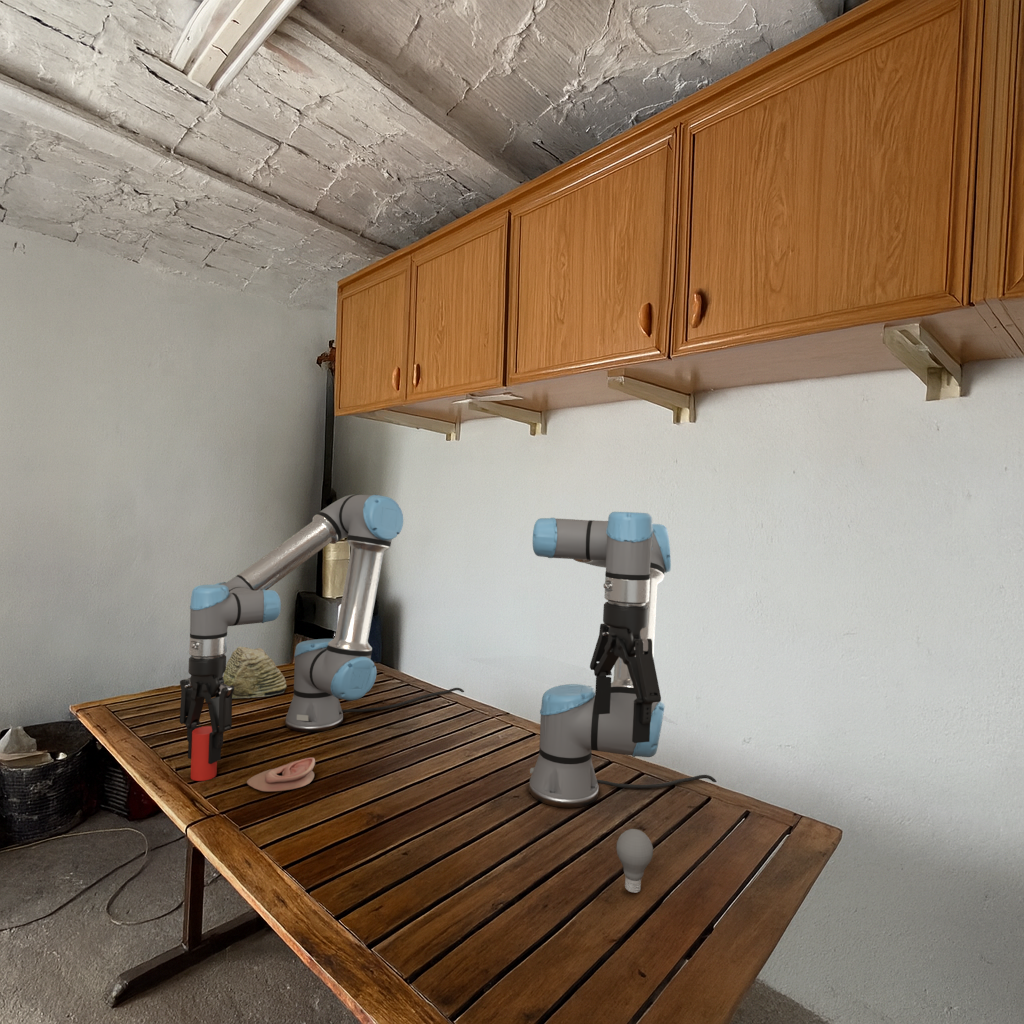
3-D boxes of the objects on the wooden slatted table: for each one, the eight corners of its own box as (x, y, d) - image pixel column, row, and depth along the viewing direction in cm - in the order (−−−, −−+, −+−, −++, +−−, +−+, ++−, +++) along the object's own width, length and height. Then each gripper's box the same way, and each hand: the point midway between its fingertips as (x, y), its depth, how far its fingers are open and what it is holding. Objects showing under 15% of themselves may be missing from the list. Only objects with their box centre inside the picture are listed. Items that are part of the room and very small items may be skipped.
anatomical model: (238, 769, 136) (269, 749, 147) (238, 787, 136) (269, 766, 147) (295, 777, 133) (322, 756, 144) (294, 796, 133) (321, 773, 144)
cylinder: (195, 783, 137) (197, 736, 137) (187, 775, 141) (188, 729, 141) (220, 776, 141) (221, 730, 141) (211, 768, 145) (213, 724, 145)
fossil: (218, 695, 195) (220, 647, 195) (278, 685, 208) (279, 640, 207) (228, 703, 189) (230, 653, 188) (289, 692, 201) (290, 645, 201)
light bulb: (610, 879, 108) (613, 822, 108) (644, 879, 109) (647, 822, 109) (619, 902, 102) (622, 840, 102) (655, 901, 103) (658, 840, 103)
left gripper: (162, 653, 140) (159, 757, 141) (226, 664, 134) (222, 773, 134) (191, 646, 147) (187, 745, 148) (252, 656, 141) (249, 760, 141)
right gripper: (575, 591, 118) (570, 704, 118) (644, 616, 94) (638, 757, 95) (611, 591, 121) (606, 702, 121) (687, 615, 97) (681, 753, 97)
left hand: (204, 758), depth 141 cm, fingers closed on cylinder, 5 cm apart
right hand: (620, 726), depth 108 cm, fingers open, 13 cm apart
